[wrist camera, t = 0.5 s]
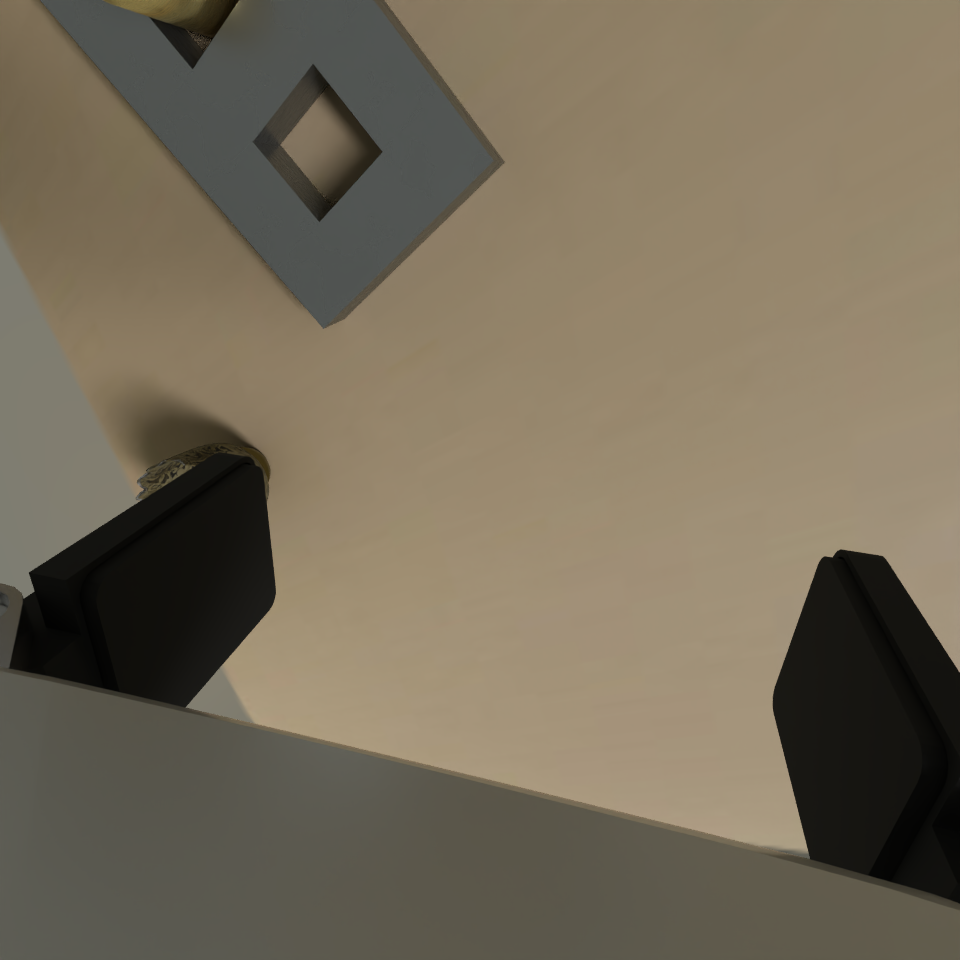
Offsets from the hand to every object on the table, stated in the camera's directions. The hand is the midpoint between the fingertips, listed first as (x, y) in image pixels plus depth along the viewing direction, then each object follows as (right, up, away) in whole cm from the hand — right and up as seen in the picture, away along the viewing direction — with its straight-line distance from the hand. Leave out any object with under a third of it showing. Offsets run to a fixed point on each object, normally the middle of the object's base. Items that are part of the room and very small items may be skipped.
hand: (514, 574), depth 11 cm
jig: (-12, +25, +25) cm, 37 cm away
